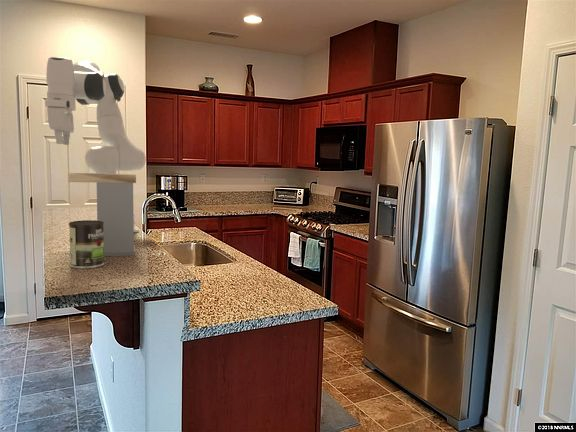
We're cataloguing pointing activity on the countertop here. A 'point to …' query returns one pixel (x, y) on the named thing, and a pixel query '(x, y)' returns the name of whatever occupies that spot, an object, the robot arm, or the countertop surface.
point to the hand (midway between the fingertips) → (62, 144)
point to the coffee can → (86, 244)
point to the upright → (116, 217)
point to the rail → (102, 178)
